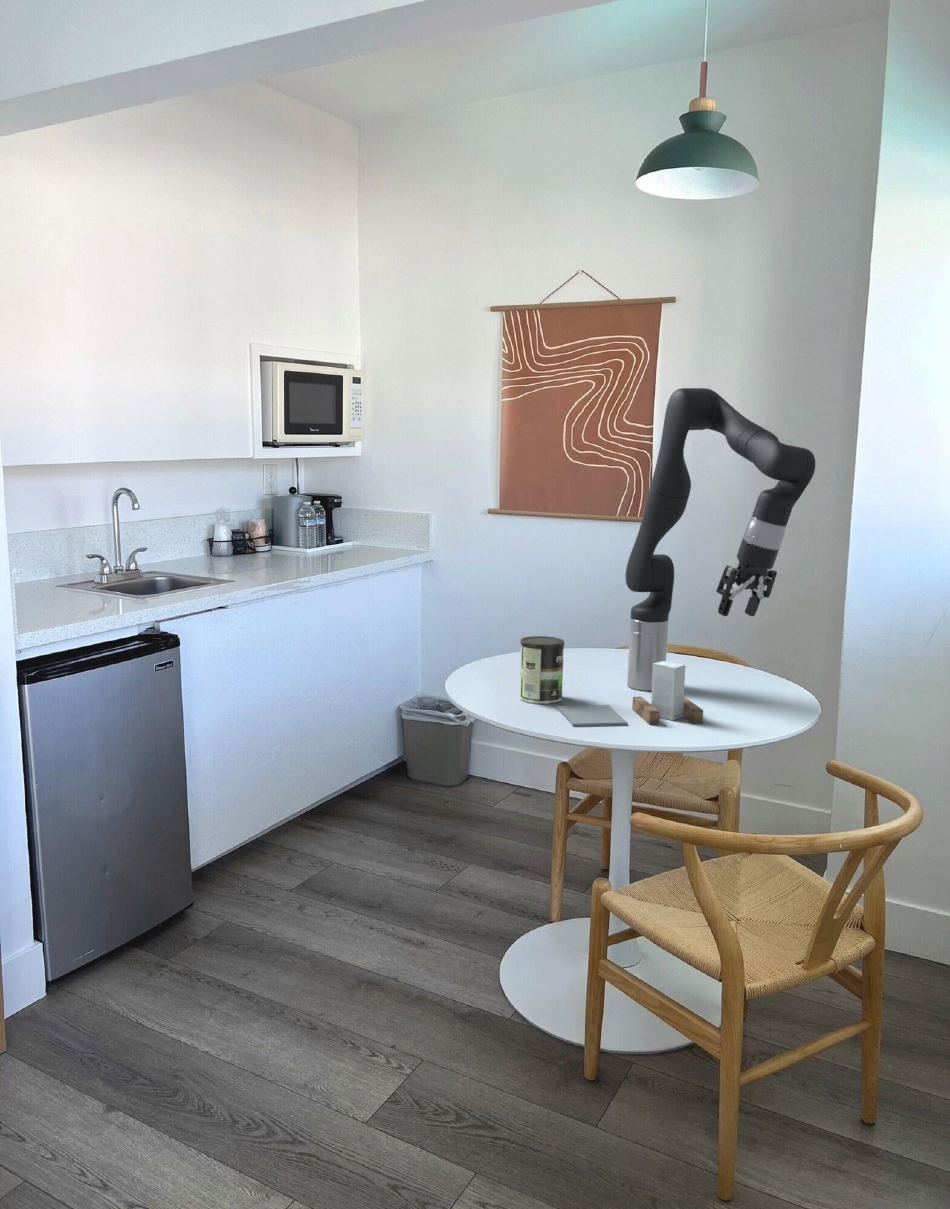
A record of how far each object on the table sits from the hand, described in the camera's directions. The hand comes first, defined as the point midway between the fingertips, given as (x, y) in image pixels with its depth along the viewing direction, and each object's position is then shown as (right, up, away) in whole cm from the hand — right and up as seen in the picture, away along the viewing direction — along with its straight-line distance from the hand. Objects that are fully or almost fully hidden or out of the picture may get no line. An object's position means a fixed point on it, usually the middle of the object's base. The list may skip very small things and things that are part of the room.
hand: (735, 614), depth 197 cm
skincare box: (-12, -23, +14) cm, 29 cm away
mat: (-29, -23, +12) cm, 38 cm away
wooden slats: (-12, -23, +14) cm, 29 cm away
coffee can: (-39, -20, +26) cm, 51 cm away
